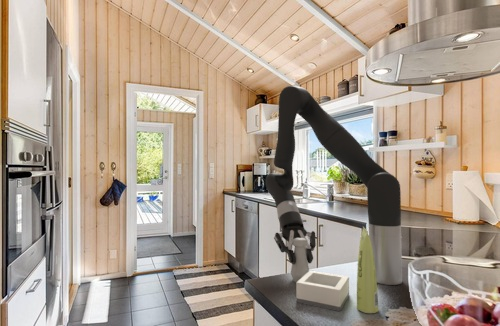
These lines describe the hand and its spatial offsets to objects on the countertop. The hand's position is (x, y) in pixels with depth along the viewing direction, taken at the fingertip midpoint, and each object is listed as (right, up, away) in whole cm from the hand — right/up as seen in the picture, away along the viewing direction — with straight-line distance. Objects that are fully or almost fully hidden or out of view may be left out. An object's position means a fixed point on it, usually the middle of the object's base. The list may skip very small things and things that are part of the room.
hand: (302, 262), depth 92 cm
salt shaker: (0, -6, +2) cm, 7 cm away
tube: (+13, -6, -18) cm, 23 cm away
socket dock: (+4, -6, -12) cm, 14 cm away
